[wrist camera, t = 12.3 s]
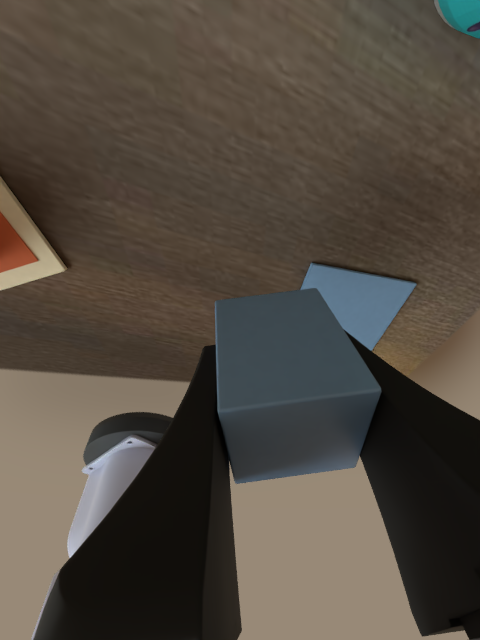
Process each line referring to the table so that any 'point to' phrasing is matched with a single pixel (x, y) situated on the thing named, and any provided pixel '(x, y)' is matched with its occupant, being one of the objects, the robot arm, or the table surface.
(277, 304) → the slate block
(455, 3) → the beverage can
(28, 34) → the table surface
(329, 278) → the blue pad
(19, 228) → the sorting mat
